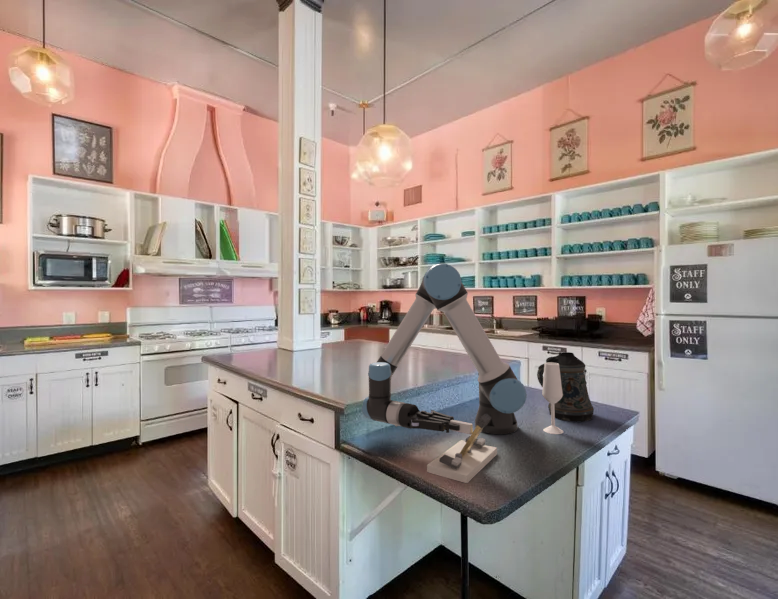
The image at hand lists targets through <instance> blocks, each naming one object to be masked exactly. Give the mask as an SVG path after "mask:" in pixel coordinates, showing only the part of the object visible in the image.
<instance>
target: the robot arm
mask: <svg viewBox="0 0 778 599" xmlns="http://www.w3.org/2000/svg"><path fill="white" fill-rule="evenodd" d="M468 294H469V293H468V291H467V288H466V287H465V286H464V283H463V281H462V277H461V275H460V273H459V271H458V270H457V269H456V268H455V267H454V266H452V265H451V264H448V263H436V264H434V265H432V266H431V267H429V268H428V269H427V270H426V272H425V273H424V274H423V277H422V281H421V283H420V285H419V288H418V289H417V291H416V293H415V299H414V300H413V303H412V304H411V305H410V306H409V309H408V311H407V312H406V314H405V315H404V316H403V317H404V318H402V321H401V322H400V324H399V325H398V327H397V328H396V330H395V332H394V334H393V335H392V337H390V338H391V339H390V340H389V342H388V343H387V345H386V346H385V348H384V350H383V351H382V353H381V354H380V356H379V358H378V359H377V361H376V362H372V363H370V364H369V365H368V373H367V374H368V375H367V376H368V396H366V397H365V398H364V399H363V401H362V405H361V414H362V415H363V417H365V418H366V419H369V420H372V421H374V422H380V423H386V424H388V425H389V424H390V425H394V426H395V427H401V428H404V429H409V430H412V429H420V430H428V431H435V432H446V433H447V434H449V433H450V431H452V432H457V433H458V432H459V433H461V434H462V433H463V434H467V435H469V436H471V434H472V433H473V431H474V429H473V428H474V427H475V428H476V426H477V424H476V423H477V421H478V420H479V418H480V417H481V416H483V415H484V414H488V415H489V416H490V417H491V420H490V421H489V423H488V424H487V425H486V426H485V427H484V428H483V429H482V431H481V433H482V432H483V433H485V434H492V435H493V434H494V435H508V434H513V433H515V432H517V430H518V421H517V418H516V415H515V413H517V412H519V410H521V409H522V408H523V407H524V406H525V404H526V401H527V395H528V394H527V390H526V387H525V386H524V384H523V383H522V382H521V380H519V379H518V377H517V376H516V374H515V372H514V371H513V369H512V367H511V366H510V364H509V363H508V362H507V363H506V362H504V361H502V359H501V357H500V355H499V354H498V352H497V351H496V349H495V346H494V345H493V343H492V342H491V339H489V337H488V334H487V332H485V329H484V328H483V326H482V325H481V323H480V321H479V319H478V317H477V315H476V314H475V312H474V311H473V309H472V307H471V305H470V304H469V302H468V300H467V299H468ZM434 310H437V311H439V312H441V313H443V314H444V315H445V317H446V319H447V320H448V322H449V324H450V325H451V327H452V330H454V333H455V334H456V336H457V338H458V340H459V342H460V343H461V345H462V346H463V347H462V348H464V350H465V352H466V353H467V355H468V358H469V359H470V361H471V362H472V364H473V365H474V367H475V368H474V369H475V370H476V371H477V372H478V373H477V376H478V378H477V382H478V401H479V402H478V409H477V412H476V415H475V418H474V426H473V423H471V422H465V421H461V420H455V417H454V416H451V415H448V414H445V413H441V412H437V411H435V409H431V410H430V412H429V411H426V410H420V409H419V407H418V406H417V404H412V403H408V402H403V401H396V400H392V398H391V397H392V393H391V392H392V390H391V389H392V377H393V375H394V373H395V372H396V370H397V368H398V366H399V365H400V364H401V362H402V361H403V359H404V357H405V355H406V354H407V352H408V351H409V349H410V348H411V346H412V345H413V343H414V341H415V339H416V338H417V336H418V335H419V333H420V332H421V330H422V328H423V327H424V325H425V323H426V322H427V320H428V319H429V318H430V316H431V314H432V313H433V311H434Z"/></svg>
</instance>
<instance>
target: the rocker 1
mask: <svg viewBox="0 0 778 599" xmlns="http://www.w3.org/2000/svg"><path fill="white" fill-rule="evenodd" d="M439 462H441V463H443V464H446V465H448V466H450V467H452V468H454V469H457V468H459V467H460V466H461V463H462V459H461V458H458V457H456V458H455V459H454V458H452V457H450V456H447V455H444V456H442V457H441V458H440V461H439Z"/></svg>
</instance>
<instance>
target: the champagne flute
mask: <svg viewBox="0 0 778 599" xmlns="http://www.w3.org/2000/svg"><path fill="white" fill-rule="evenodd" d="M543 364H544V373H543V387H542V392H541V393H542V396H543V398H544V400H546V401H547V403H548V404H549V403H551V415H550V418H551V419H550V421H551V422H550V423H551V424H550V425H549V426H546V427H544V428H543V432H545V433H547V434H549V435H550V434H551V435H561V434H563V433H564V430H563V429H561V428H559V427H558V426H556V420H555V419H556V418H555V409H554V404H555V403H557V402H558V401H559V400H560V399H561V398H562V396H563V393H562V385H561V377H560V369H559V364H558V363H551V362H548V363H546V362H544V363H543Z"/></svg>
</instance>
